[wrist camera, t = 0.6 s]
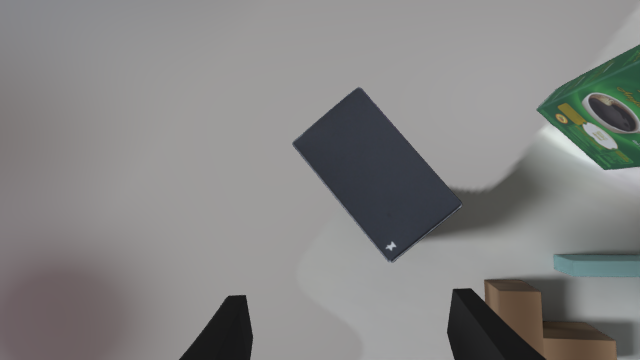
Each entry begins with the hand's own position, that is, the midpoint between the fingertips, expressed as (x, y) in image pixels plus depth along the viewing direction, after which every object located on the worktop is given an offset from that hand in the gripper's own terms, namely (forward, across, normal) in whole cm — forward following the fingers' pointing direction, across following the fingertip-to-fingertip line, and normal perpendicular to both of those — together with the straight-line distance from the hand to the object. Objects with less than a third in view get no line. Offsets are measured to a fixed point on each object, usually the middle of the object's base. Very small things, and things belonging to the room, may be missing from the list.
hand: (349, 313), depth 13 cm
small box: (+22, -4, +5) cm, 22 cm away
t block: (+13, -17, +17) cm, 27 cm away
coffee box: (+22, -22, +1) cm, 30 cm away
